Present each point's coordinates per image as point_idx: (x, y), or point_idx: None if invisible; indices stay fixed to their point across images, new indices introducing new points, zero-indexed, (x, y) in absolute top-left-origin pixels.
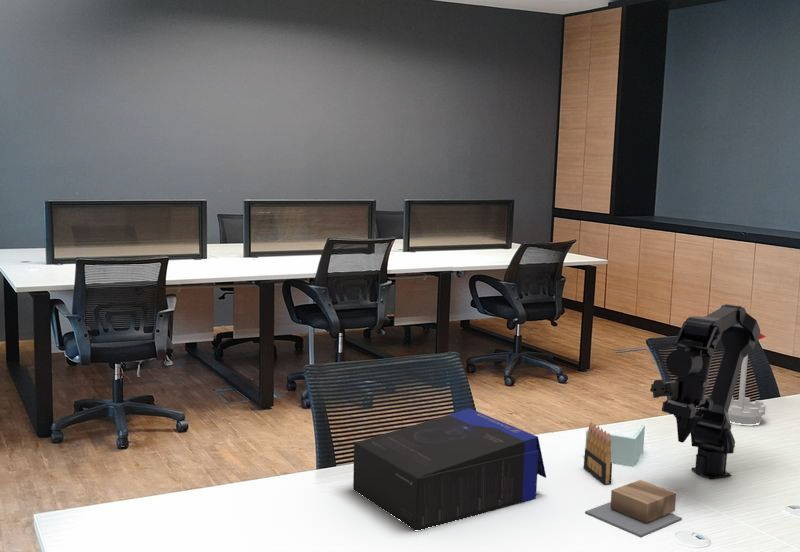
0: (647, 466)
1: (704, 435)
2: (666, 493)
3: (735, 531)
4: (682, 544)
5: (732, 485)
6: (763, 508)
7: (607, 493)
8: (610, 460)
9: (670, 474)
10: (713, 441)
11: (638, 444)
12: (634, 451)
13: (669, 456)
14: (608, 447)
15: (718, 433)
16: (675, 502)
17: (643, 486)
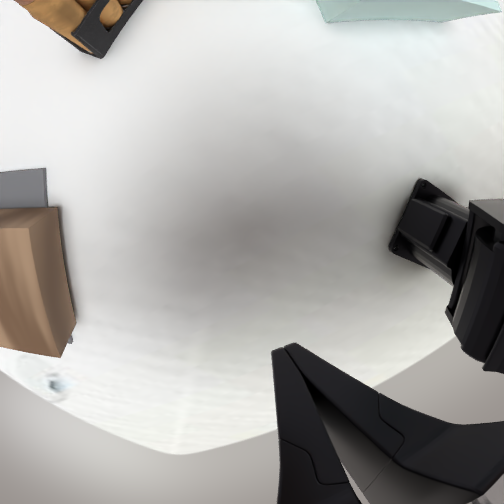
0: (363, 57)
1: (479, 296)
2: (33, 342)
3: (134, 412)
4: (12, 376)
5: (381, 300)
6: None
7: (31, 109)
8: (63, 29)
9: (354, 143)
10: (460, 317)
11: (413, 5)
12: (352, 5)
13: (462, 91)
14: (24, 6)
15: (476, 352)
16: (68, 338)
17: (3, 272)
